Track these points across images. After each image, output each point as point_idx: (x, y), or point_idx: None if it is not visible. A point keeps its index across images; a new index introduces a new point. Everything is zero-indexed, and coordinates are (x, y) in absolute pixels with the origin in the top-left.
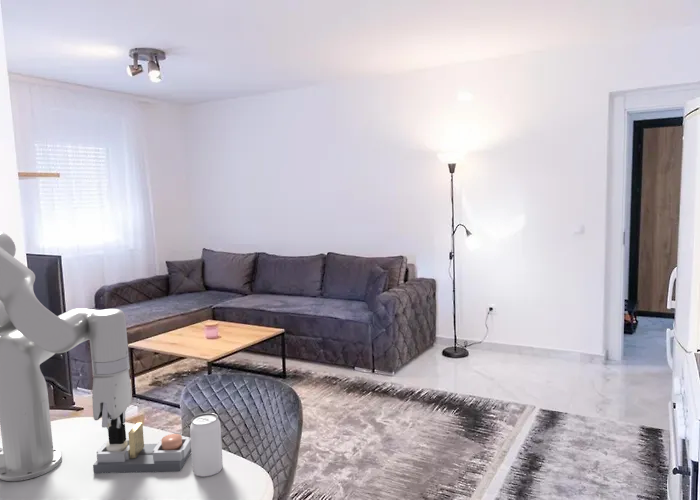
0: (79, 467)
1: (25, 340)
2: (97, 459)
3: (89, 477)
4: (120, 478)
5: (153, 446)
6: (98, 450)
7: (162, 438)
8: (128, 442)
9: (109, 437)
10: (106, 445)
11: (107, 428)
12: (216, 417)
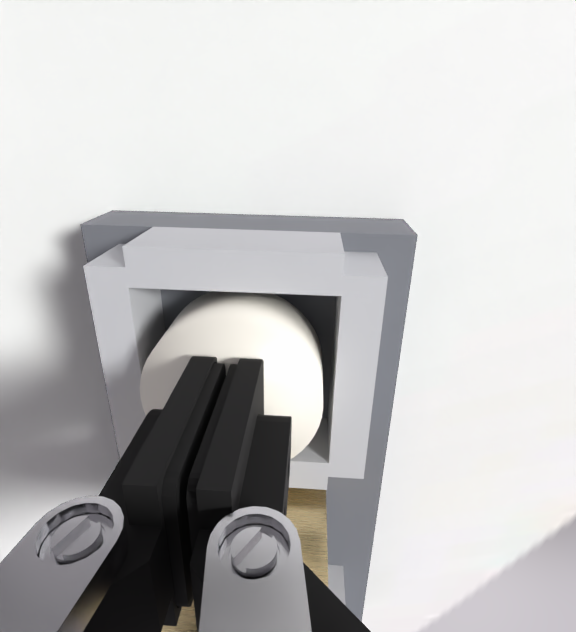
0: (188, 41)
1: None
2: (107, 253)
3: (66, 201)
4: (85, 388)
5: (339, 519)
6: (147, 254)
7: None
8: (330, 422)
9: (176, 396)
10: (168, 334)
11: (61, 508)
12: None
